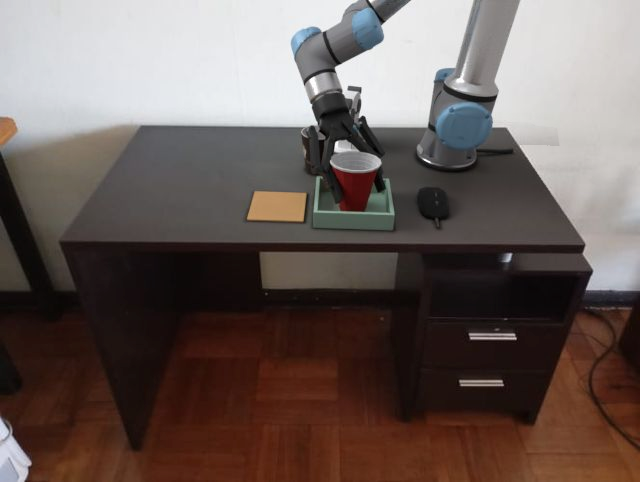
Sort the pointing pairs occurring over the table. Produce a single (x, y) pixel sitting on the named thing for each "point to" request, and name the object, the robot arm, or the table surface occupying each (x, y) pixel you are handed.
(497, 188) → the table surface
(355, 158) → the plastic cup
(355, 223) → the tray
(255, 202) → the cork mat
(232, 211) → the table surface
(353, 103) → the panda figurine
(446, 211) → the gaming mouse
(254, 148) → the table surface
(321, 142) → the coffee mug
